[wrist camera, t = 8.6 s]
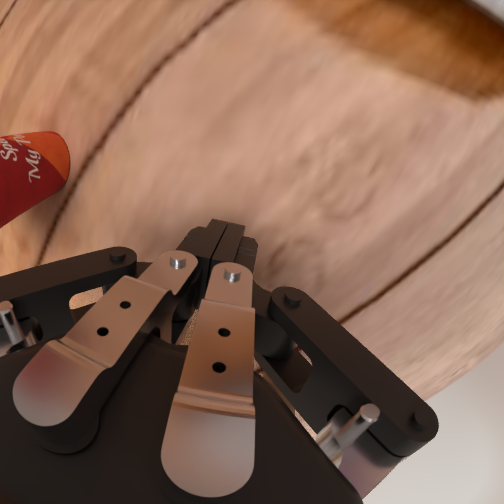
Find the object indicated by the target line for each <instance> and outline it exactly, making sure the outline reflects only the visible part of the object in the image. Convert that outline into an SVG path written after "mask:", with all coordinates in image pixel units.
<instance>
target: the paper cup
mask: <svg viewBox="0 0 504 504" xmlns="http://www.w3.org/2000/svg"><path fill="white" fill-rule="evenodd" d="M69 169H70V156H69V151H68V148H67V145H66V143H65V141H64V140H63V138H62V137H61V136H60V135H58V134H57V133H55V132H33V133H24V134H17V135H10V136H4V137H0V228H1V227H3V226H4V225H6V224H7V223H9V222H10V221H12V220H13V219H14V218H16V217H17V216H19V215H20V214H22V213H24V212H25V211H27V210H28V209H30V208H31V207H33V206H34V205H36V204H38V203H39V202H41V201H43V200H44V199H46V198H47V197H49V196H51V195H52V194H54V193H55V192H57V191H58V190H60V189H61V188H62V187H63V185H64V184H65V182H66V180H67V178H68V174H69Z"/></svg>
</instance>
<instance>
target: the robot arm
mask: <svg viewBox="0 0 504 504" xmlns="http://www.w3.org/2000/svg"><path fill="white" fill-rule="evenodd" d="M244 231H245V226H244V225H239V224H235V223H230V222H229V224H228V222H225V221H221V220H216V219H212V220H211V222H210V223H209V225H208V226H207V228H204V227H196V228H194V229H192V230H191V231H190V232H189V233H188V235H187V236H186V237H185V238H184V240H183V241H182V242H181V244H180V245H179V246H178V248H177V249H176V250H172V251H167V252H164V253H162V254H161V255H160V256H159V257H158V258H157V259H156V260H155V261H154V262H153V263H148V262H137V255H136V253H135V252H134V251H133V250H131V249H129V248H126V247H111V248H107V249H103V250H99V251H95V252H91V253H87V254H82V255H78V256H75V257H71V258H67V259H63V260H59V261H55V262H51V263H48V264H44V265H40V266H36V267H33V268H29V269H25V270H22V271H18V272H15V273H11V274H8V275H4V276H1V277H0V504H363V501H362V499H363V498H364V497H365V496H366V495H368V494H369V493H370V492H371V491H372V490H373V489H374V488H375V487H376V486H377V485H378V484H379V483H380V482H381V481H382V480H383V479H384V478H385V477H386V476H387V475H388V474H389V473H390V472H391V471H392V470H393V469H394V468H395V466H396V465H397V464H398V463H400V462H401V461H403V460H404V459H406V458H407V457H409V456H410V455H412V454H413V453H414V452H416V451H417V450H419V449H420V448H421V447H423V446H424V445H425V444H427V443H428V442H429V441H431V440H432V439H433V438H434V437H435V436H436V434H437V432H438V428H439V425H438V424H439V423H438V419H437V416H436V414H435V412H434V411H433V409H432V408H431V407H430V406H429V405H428V404H427V403H426V402H424V401H423V400H422V399H421V398H420V397H419V396H418V395H417V394H416V393H415V392H414V391H412V390H411V389H410V388H409V387H408V386H407V385H406V384H405V383H404V382H403V381H402V380H401V379H399V378H398V377H397V376H396V375H395V374H394V373H393V372H392V371H391V370H390V369H389V368H387V367H386V366H385V365H384V364H383V363H382V362H381V361H380V360H379V359H378V358H376V357H375V356H374V355H373V354H372V353H371V352H370V351H369V350H368V349H367V348H366V347H364V346H363V345H362V344H361V343H360V342H359V341H358V340H357V339H356V338H355V337H353V336H352V335H351V334H350V333H349V332H348V331H347V330H346V329H345V328H344V327H342V326H341V325H340V324H339V323H338V322H337V321H336V320H335V319H334V318H333V317H331V316H330V315H329V314H328V313H327V312H326V311H325V310H324V309H323V308H322V307H320V306H319V305H318V304H317V303H316V302H315V301H314V300H313V299H312V298H310V297H309V296H308V295H307V294H306V293H304V292H303V291H301V290H299V289H296V288H293V287H278V288H276V289H274V290H273V292H272V293H271V292H268V291H266V290H264V289H262V288H261V287H259V286H258V285H257V284H256V283H255V282H254V280H253V275H252V274H253V269H254V264H255V258H256V253H257V248H258V244H257V242H256V241H255V239H253V238H249V237H244ZM101 286H102V289H103V296H102V297H101V298H100V299H99V300H98V301H97V302H95V303H92V304H89V305H86V306H83V307H80V308H76V309H70V307H69V301H70V299H71V297H72V296H74V295H75V294H78V293H81V292H85V291H88V290H91V289H95V288H98V287H101ZM195 309H198V310H199V311H198V314H197V318H196V322H195V325H194V329H193V333H192V336H191V340H190V344H189V346H187V345H180V343H181V341H182V339H183V338H184V336H185V334H186V332H187V330H188V328H189V326H190V325H191V322H192V315H193V314H194V311H195ZM296 344H297V345H298V346H299V347H300V348H301V349H302V350H303V351H304V352H305V353H306V354H307V356H308V357H309V358H310V360H311V362H312V365H311V364H310V363H309V362H308V361H307V360H306V359H305V358H304V357H303V356H302V355H301V353H300V352H299V351H298V350H297V349H296V348H295V346H296ZM254 357H255V359H256V361H257V362H258V364H259V365H260V366H261V367H262V369H263V370H264V371H265V373H266V374H267V375H268V376H269V378H270V379H271V380H272V381H273V383H274V384H275V385H276V386H277V388H278V389H279V390H280V391H281V392H282V394H283V395H284V396H285V397H286V399H287V400H288V401H289V402H290V403H291V405H292V406H293V407H294V408H295V409H296V411H297V412H298V413H299V414H300V415H301V417H302V418H303V419H304V420H305V421H306V422H307V424H308V425H309V426H310V427H311V428H312V429H313V430H314V432H315V433H316V434H317V437H316V442H315V440H314V439H313V438H312V437H311V435H310V434H309V433H308V432H307V430H306V429H305V428H304V427H303V425H302V424H301V423H300V422H299V420H298V419H297V418H296V416H295V415H294V414H293V413H292V411H291V410H290V409H289V407H288V406H287V405H286V403H285V402H284V401H283V399H282V398H281V397H280V396H279V394H278V393H277V391H276V390H275V389H274V388H273V387H272V385H271V384H270V383H269V382H268V381H267V380H265V379H264V378H263V377H262V376H260V375H259V374H258V373H256V372H255V371H253V368H254Z"/></svg>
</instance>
